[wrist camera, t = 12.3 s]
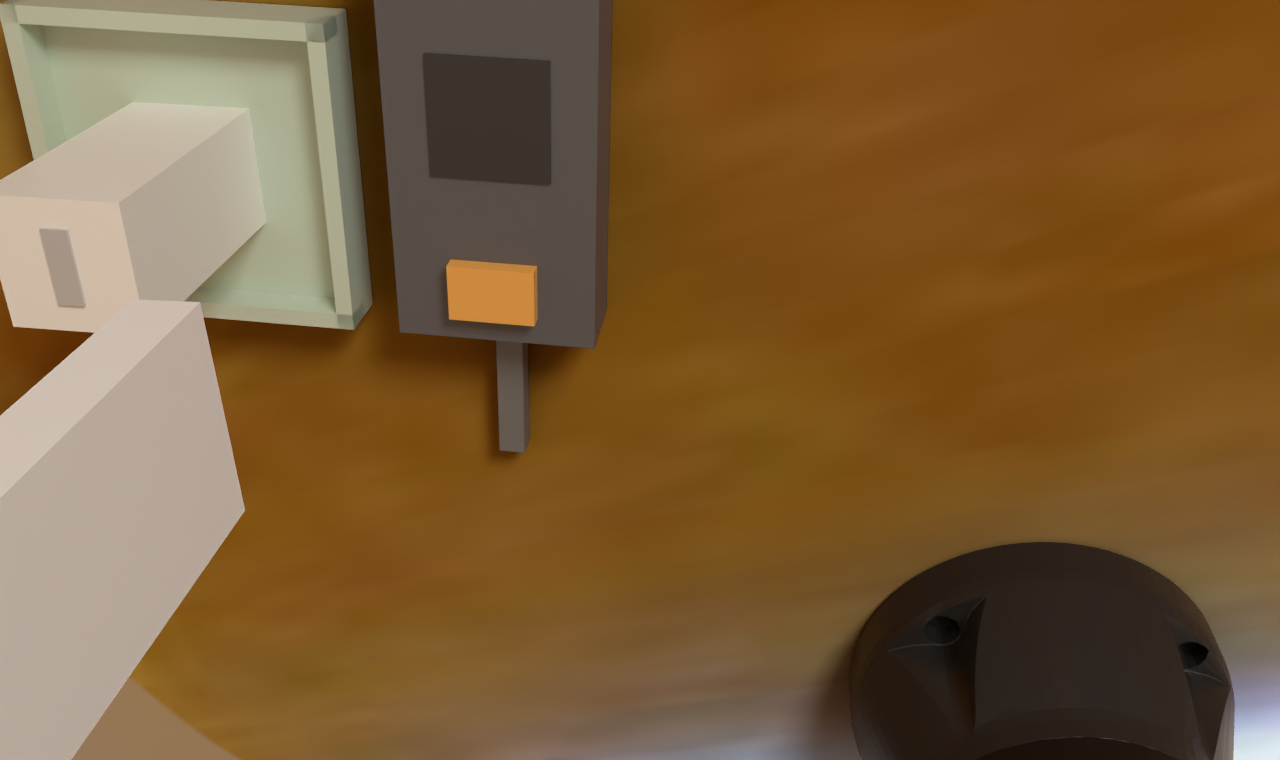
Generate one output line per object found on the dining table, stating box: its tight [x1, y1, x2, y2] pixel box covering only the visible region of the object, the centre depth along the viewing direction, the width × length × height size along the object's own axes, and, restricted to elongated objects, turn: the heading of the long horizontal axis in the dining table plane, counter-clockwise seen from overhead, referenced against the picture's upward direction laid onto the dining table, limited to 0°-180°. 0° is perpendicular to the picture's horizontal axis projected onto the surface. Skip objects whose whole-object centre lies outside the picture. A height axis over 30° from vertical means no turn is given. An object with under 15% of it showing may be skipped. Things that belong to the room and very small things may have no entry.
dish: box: [0, 0, 373, 330], centre depth 42 cm, size 11×11×2 cm
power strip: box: [374, 0, 612, 453], centre depth 38 cm, size 30×7×4 cm, turn 178°
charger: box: [0, 102, 266, 333], centre depth 38 cm, size 4×4×9 cm
